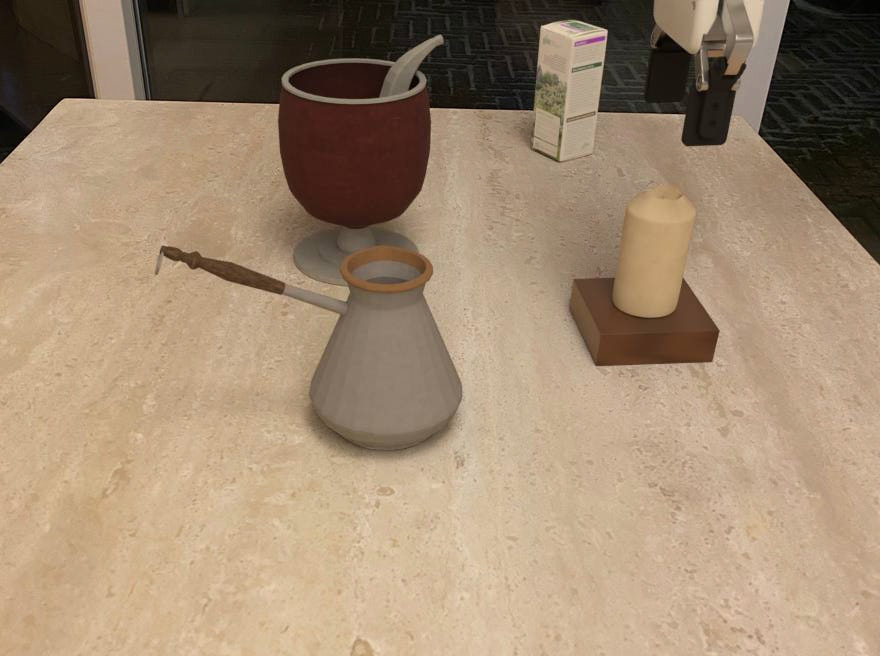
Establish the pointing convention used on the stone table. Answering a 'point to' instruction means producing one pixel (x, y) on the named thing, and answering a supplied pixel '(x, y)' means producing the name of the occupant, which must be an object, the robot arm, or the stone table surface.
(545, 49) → the syrup box
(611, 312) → the walnut block
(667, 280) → the candle
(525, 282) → the stone table surface
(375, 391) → the coffee pot
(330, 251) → the mate gourd
